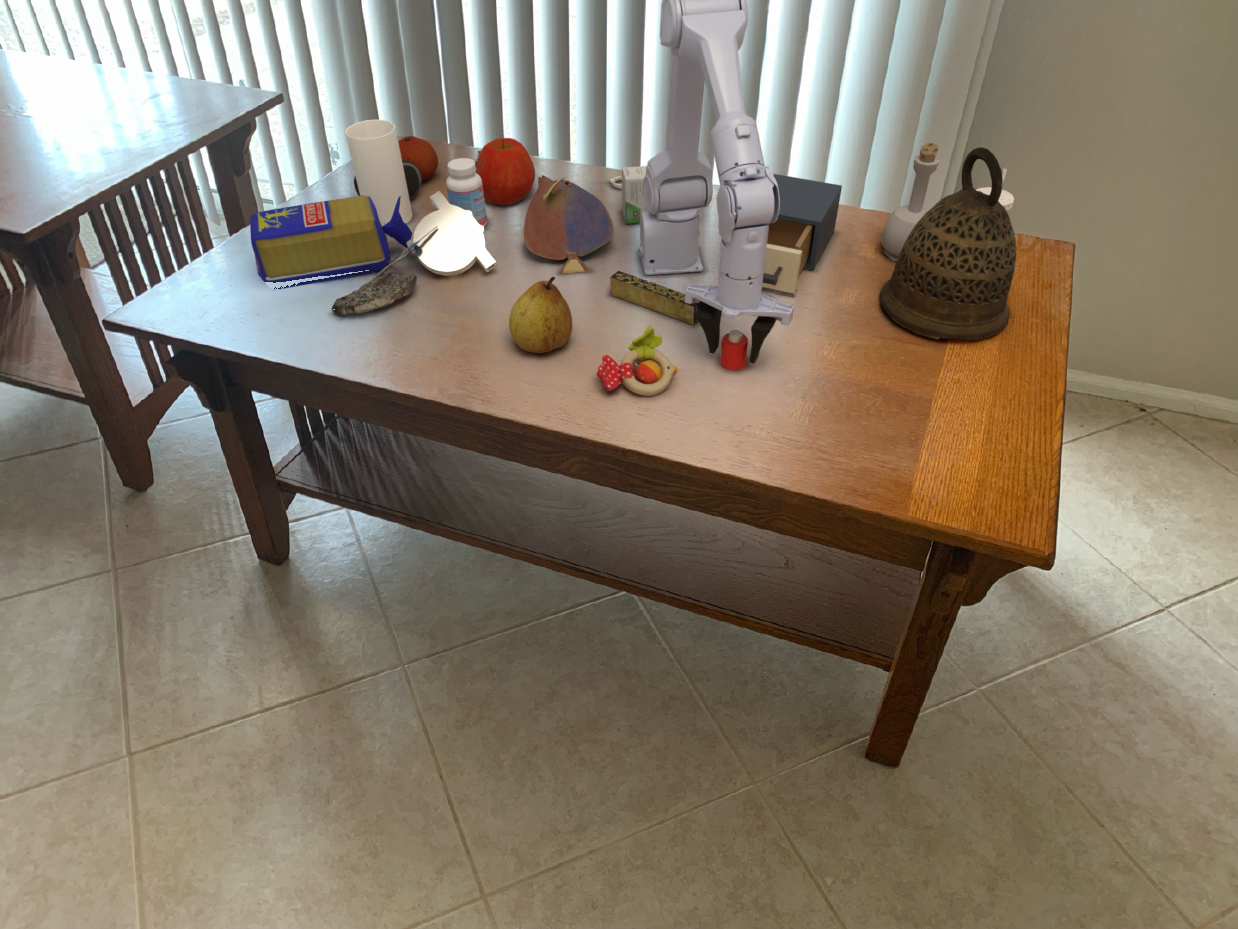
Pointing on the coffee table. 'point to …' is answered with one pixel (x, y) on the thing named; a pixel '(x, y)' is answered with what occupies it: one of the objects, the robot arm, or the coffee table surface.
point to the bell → (956, 264)
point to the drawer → (786, 254)
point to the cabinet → (810, 209)
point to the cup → (379, 167)
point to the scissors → (400, 257)
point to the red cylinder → (734, 350)
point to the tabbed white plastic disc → (450, 240)
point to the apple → (505, 171)
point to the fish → (566, 223)
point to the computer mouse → (406, 177)
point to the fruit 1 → (419, 154)
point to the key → (616, 183)
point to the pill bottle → (466, 188)
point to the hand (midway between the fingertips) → (733, 354)
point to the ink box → (633, 193)
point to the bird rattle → (639, 367)
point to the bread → (324, 240)
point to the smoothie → (1005, 197)
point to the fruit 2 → (540, 318)
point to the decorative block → (653, 297)
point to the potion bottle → (910, 204)
